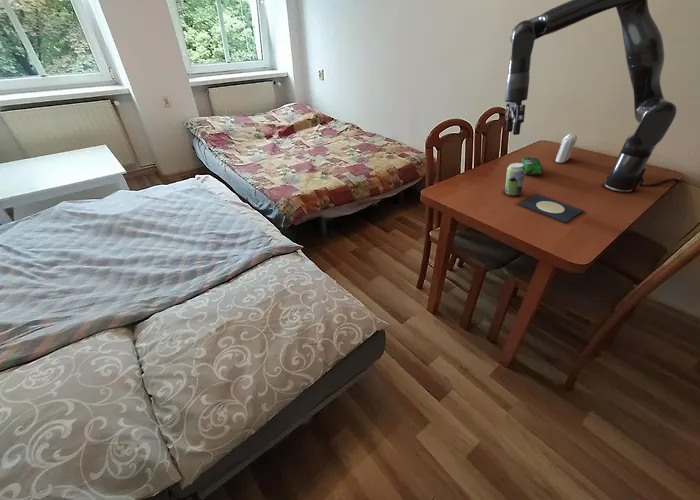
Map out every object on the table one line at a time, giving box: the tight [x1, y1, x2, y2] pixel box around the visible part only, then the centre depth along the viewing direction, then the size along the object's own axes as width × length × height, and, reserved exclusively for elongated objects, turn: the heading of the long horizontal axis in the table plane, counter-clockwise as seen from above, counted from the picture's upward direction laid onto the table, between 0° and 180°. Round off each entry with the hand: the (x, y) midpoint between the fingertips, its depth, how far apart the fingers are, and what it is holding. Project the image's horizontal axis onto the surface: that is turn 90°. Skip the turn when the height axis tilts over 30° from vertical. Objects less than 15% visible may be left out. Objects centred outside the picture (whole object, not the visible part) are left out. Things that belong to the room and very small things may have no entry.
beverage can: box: [504, 162, 525, 196], centre depth 126 cm, size 6×7×12 cm
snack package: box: [520, 156, 544, 176], centre depth 146 cm, size 7×16×5 cm, turn 164°
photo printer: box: [555, 133, 578, 164], centre depth 155 cm, size 10×4×12 cm, turn 134°
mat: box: [518, 193, 584, 224], centre depth 119 cm, size 17×13×1 cm
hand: (512, 133), depth 126 cm, fingers open, 8 cm apart
